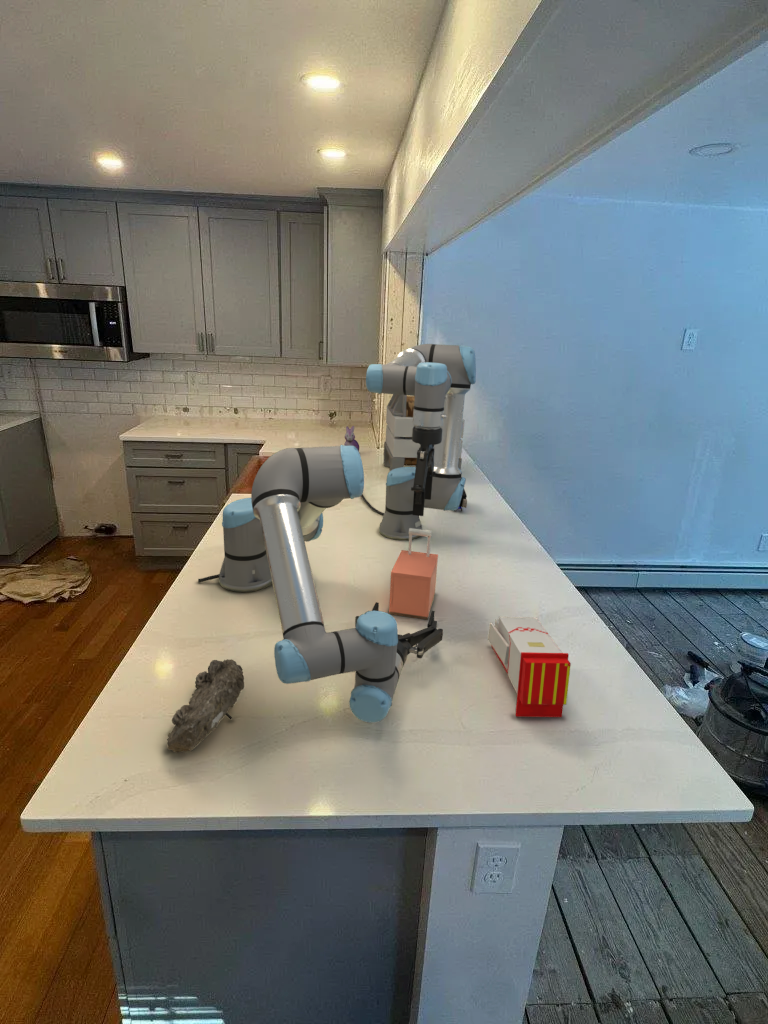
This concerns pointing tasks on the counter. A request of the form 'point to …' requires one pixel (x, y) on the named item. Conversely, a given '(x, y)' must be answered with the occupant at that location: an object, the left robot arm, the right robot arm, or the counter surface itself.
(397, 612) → the chest
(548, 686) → the toy
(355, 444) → the figurine
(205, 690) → the fossil
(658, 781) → the counter surface
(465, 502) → the figurine character
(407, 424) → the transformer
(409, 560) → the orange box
